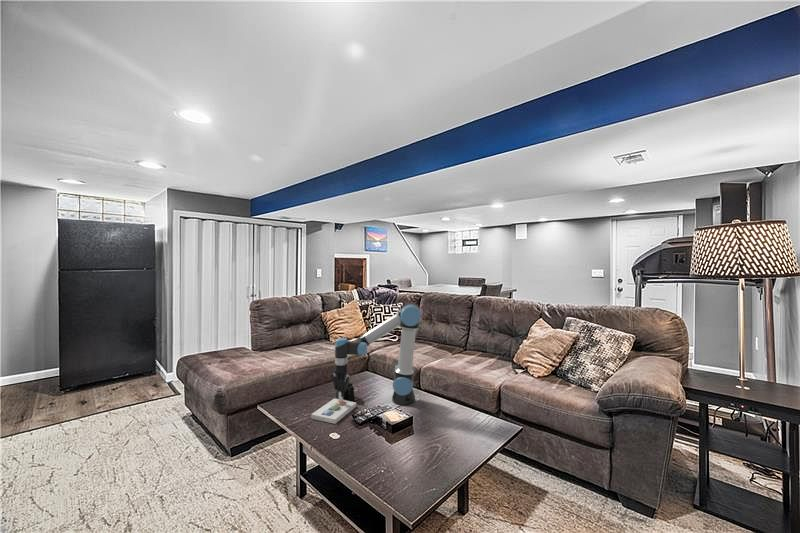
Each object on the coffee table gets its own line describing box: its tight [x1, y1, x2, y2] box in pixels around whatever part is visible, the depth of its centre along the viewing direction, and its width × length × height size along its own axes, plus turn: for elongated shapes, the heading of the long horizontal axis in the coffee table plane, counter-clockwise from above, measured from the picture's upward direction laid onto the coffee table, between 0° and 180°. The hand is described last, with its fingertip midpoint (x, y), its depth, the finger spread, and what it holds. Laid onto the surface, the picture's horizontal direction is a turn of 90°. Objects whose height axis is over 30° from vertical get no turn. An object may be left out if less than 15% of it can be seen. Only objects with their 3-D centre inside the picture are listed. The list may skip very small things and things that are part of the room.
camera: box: [335, 382, 355, 402], centre depth 220 cm, size 14×11×10 cm
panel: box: [310, 398, 357, 424], centre depth 200 cm, size 16×24×2 cm, turn 158°
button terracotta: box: [337, 401, 345, 406], centre depth 207 cm, size 5×5×3 cm
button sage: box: [331, 403, 339, 411], centre depth 200 cm, size 5×5×3 cm
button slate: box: [324, 410, 332, 416], centre depth 194 cm, size 5×5×3 cm
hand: (340, 401), depth 207 cm, fingers closed
